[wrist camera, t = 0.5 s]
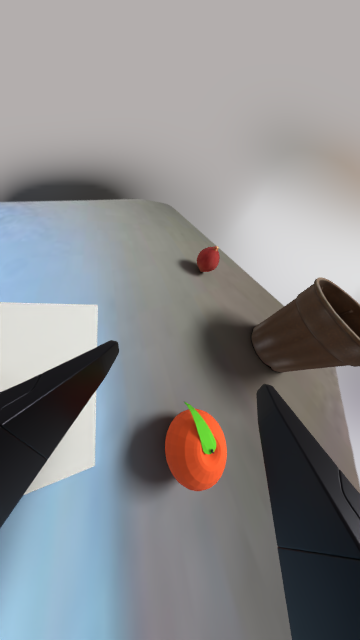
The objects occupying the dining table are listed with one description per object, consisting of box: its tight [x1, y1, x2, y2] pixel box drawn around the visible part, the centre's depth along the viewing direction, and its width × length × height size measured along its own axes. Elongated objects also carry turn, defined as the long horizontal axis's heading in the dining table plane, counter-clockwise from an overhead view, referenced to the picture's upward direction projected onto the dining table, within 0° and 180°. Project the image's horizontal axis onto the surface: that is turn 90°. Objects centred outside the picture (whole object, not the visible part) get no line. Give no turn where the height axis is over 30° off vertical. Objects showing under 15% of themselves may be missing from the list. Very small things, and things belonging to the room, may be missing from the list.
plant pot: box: [251, 278, 360, 372], centre depth 29 cm, size 16×16×16 cm
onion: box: [197, 246, 219, 272], centre depth 38 cm, size 6×6×8 cm
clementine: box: [165, 402, 227, 491], centre depth 16 cm, size 8×7×7 cm
